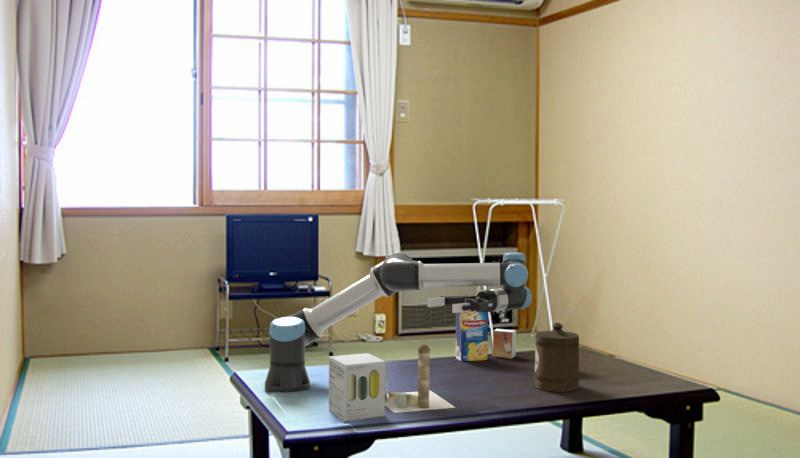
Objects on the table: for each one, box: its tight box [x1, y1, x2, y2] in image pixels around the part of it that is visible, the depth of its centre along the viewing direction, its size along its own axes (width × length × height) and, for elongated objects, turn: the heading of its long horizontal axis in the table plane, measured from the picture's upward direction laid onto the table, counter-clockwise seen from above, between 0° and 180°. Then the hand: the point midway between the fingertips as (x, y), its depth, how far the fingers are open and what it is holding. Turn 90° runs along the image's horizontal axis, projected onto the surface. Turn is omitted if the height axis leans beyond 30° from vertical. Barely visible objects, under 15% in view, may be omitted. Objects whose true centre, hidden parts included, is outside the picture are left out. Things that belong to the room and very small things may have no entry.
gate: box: [388, 344, 431, 408], centre depth 284 cm, size 14×4×19 cm, turn 59°
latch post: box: [397, 392, 407, 408], centre depth 282 cm, size 3×3×4 cm
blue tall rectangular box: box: [454, 310, 489, 362], centre depth 355 cm, size 7×11×22 cm, turn 106°
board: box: [385, 390, 456, 414], centre depth 289 cm, size 20×22×1 cm
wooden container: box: [534, 322, 580, 393], centre depth 311 cm, size 15×15×22 cm
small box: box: [492, 328, 517, 359], centre depth 360 cm, size 8×6×10 cm
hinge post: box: [385, 361, 389, 402], centre depth 289 cm, size 4×4×12 cm
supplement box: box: [328, 352, 386, 424], centre depth 274 cm, size 13×13×18 cm
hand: (440, 305), depth 295 cm, fingers open, 13 cm apart
